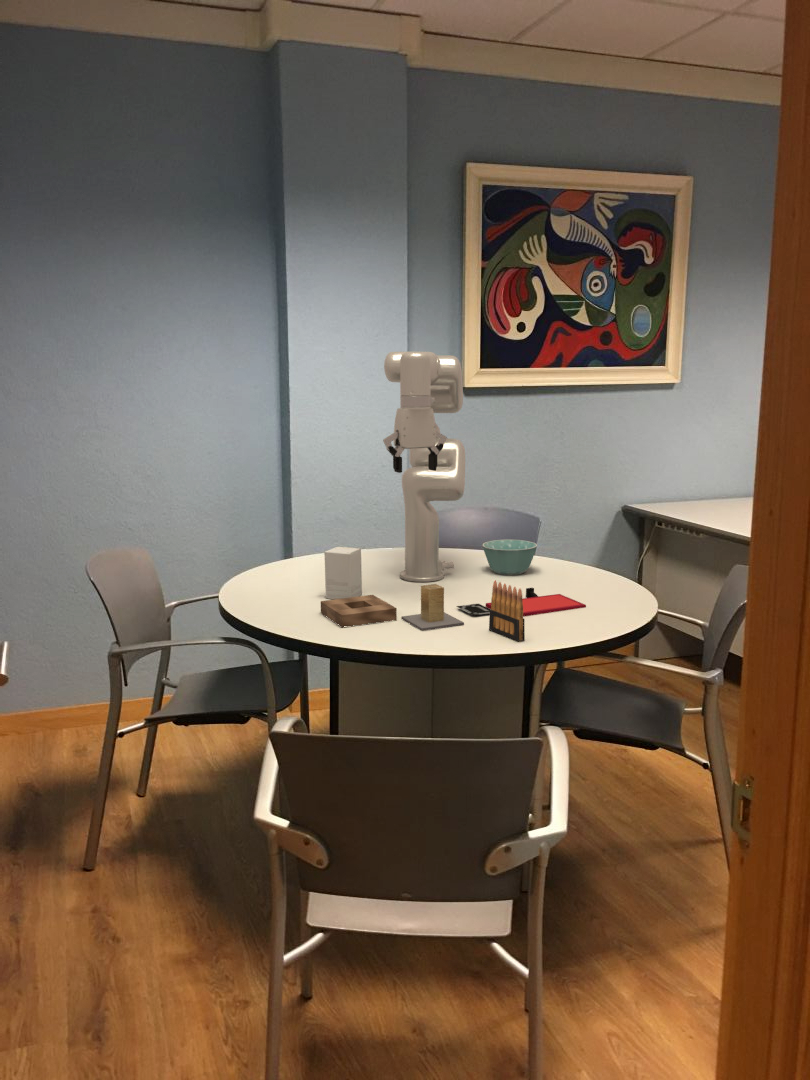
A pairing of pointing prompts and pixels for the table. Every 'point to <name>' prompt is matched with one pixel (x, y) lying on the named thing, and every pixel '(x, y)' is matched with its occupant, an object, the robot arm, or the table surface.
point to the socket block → (358, 610)
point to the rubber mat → (425, 625)
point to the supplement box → (343, 573)
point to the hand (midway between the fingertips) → (415, 471)
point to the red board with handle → (532, 604)
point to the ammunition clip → (507, 612)
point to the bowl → (509, 555)
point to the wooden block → (432, 603)
